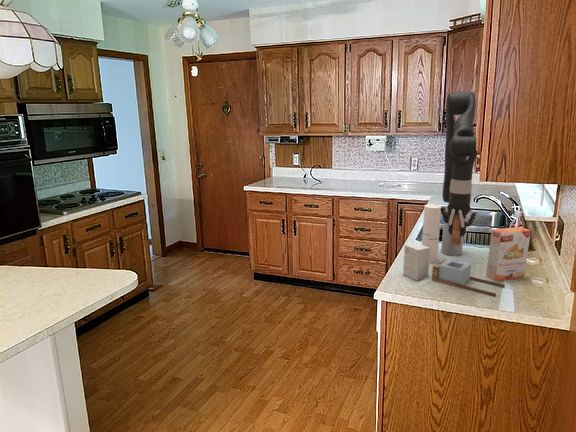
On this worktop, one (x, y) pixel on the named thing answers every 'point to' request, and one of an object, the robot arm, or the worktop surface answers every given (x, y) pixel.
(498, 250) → the cracker box
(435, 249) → the cylindrical container
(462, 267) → the grey square collar
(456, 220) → the dowel
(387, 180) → the worktop surface
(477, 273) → the worktop surface
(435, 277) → the track
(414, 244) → the small box
